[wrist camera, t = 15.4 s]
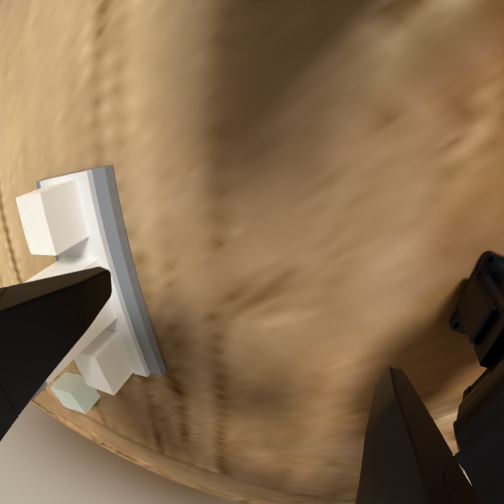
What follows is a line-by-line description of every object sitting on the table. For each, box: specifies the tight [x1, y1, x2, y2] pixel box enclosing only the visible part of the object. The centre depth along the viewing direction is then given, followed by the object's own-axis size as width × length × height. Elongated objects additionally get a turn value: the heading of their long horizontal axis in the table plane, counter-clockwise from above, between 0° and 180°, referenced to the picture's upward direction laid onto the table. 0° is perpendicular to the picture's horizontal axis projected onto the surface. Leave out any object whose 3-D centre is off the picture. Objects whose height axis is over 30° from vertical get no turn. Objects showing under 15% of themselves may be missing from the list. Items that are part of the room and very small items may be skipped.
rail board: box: [16, 165, 166, 395], centre depth 27 cm, size 10×21×6 cm, turn 6°
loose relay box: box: [50, 372, 101, 414], centre depth 39 cm, size 6×4×4 cm, turn 108°
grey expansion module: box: [24, 257, 117, 400], centre depth 22 cm, size 5×6×12 cm
